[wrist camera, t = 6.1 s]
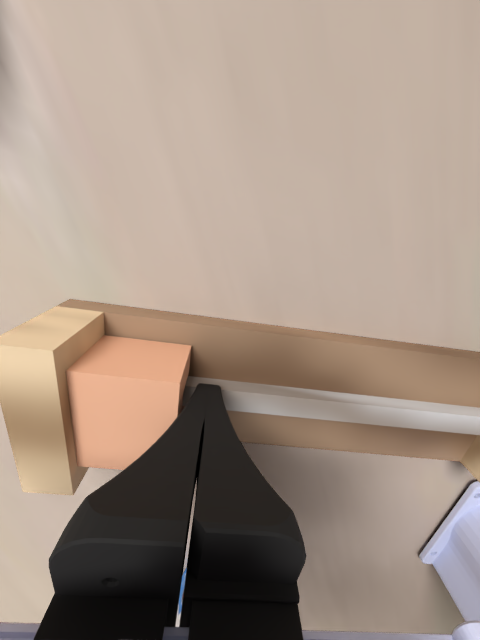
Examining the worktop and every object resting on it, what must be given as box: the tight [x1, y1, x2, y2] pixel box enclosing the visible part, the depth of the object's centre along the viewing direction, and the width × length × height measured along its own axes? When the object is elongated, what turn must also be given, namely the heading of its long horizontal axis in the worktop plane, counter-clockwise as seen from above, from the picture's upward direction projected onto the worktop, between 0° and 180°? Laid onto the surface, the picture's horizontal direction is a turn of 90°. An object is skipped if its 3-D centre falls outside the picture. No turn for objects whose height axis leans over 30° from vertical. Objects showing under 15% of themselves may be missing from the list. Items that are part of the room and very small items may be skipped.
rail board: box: [0, 299, 480, 495], centre depth 12 cm, size 7×24×4 cm, turn 81°
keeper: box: [66, 335, 191, 470], centre depth 11 cm, size 5×4×3 cm
